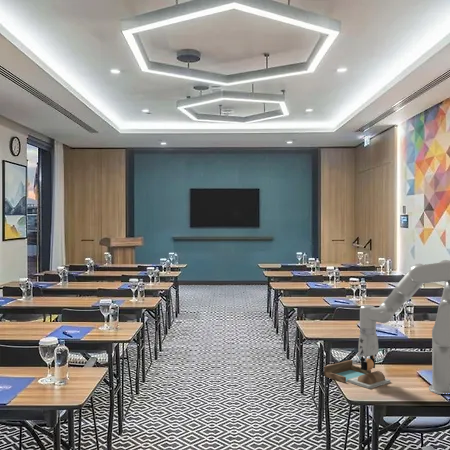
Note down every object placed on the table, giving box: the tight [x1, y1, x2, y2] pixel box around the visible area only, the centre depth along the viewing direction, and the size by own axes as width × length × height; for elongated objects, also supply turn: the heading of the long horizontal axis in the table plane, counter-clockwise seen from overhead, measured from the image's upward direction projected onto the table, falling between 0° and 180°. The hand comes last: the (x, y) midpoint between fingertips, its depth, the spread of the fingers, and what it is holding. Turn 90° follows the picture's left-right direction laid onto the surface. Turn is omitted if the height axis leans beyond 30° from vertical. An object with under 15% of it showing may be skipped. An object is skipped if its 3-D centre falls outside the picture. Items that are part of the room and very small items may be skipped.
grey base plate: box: [347, 376, 391, 390], centre depth 244 cm, size 13×16×1 cm
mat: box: [337, 370, 364, 383], centre depth 255 cm, size 11×18×1 cm, turn 126°
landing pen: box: [323, 359, 372, 383], centre depth 255 cm, size 13×20×5 cm, turn 126°
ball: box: [366, 357, 374, 371], centre depth 245 cm, size 6×6×6 cm
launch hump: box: [357, 370, 386, 385], centre depth 243 cm, size 7×12×7 cm, turn 126°
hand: (368, 368), depth 245 cm, fingers closed on ball, 5 cm apart
